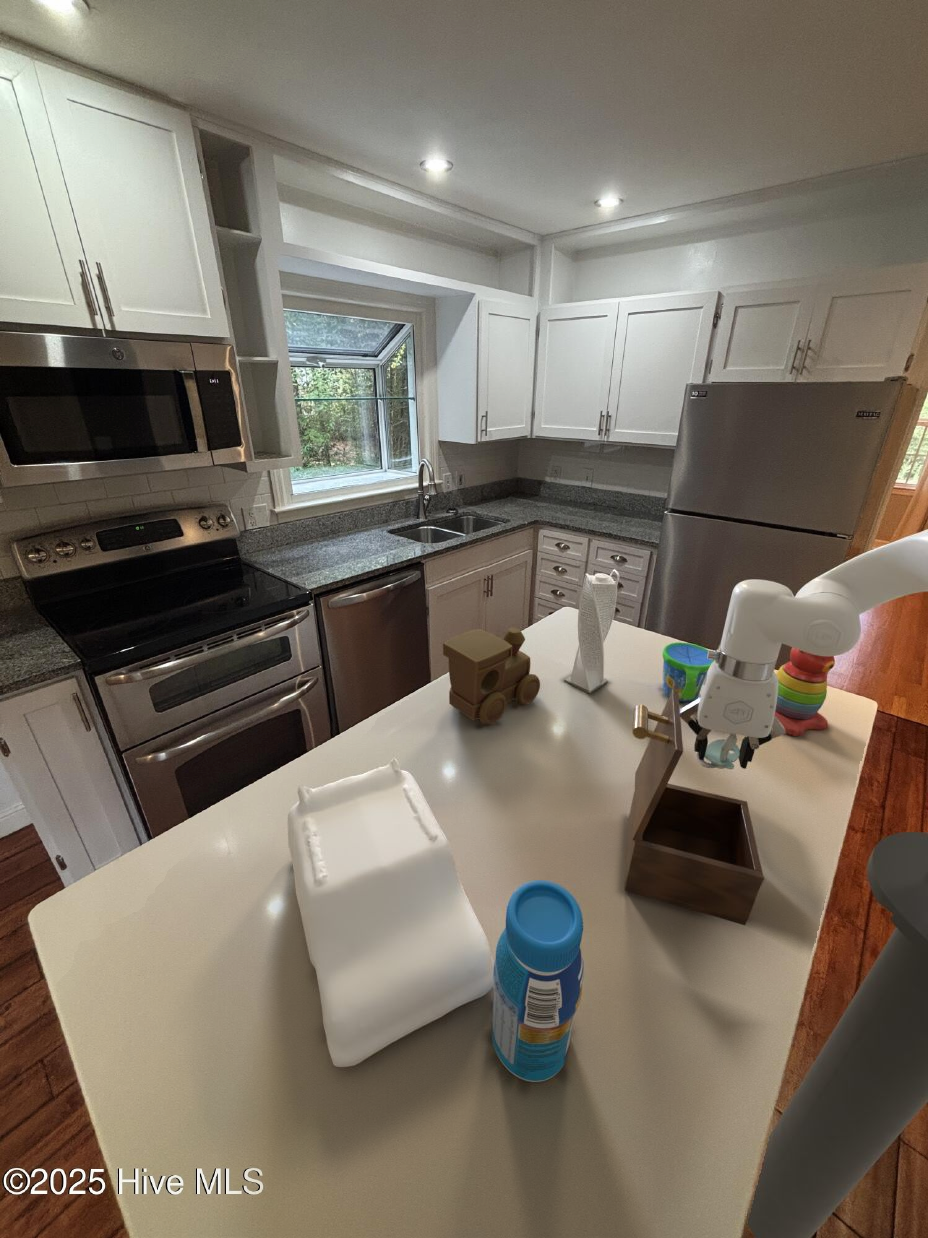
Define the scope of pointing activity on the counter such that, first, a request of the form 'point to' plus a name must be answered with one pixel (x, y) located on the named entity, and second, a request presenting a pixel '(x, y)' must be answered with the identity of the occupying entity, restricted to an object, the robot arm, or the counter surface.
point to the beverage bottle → (537, 980)
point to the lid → (655, 758)
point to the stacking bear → (802, 691)
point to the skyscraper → (593, 630)
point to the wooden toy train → (489, 673)
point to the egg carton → (382, 911)
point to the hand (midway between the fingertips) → (721, 758)
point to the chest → (697, 854)
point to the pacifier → (721, 753)
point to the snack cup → (684, 669)
